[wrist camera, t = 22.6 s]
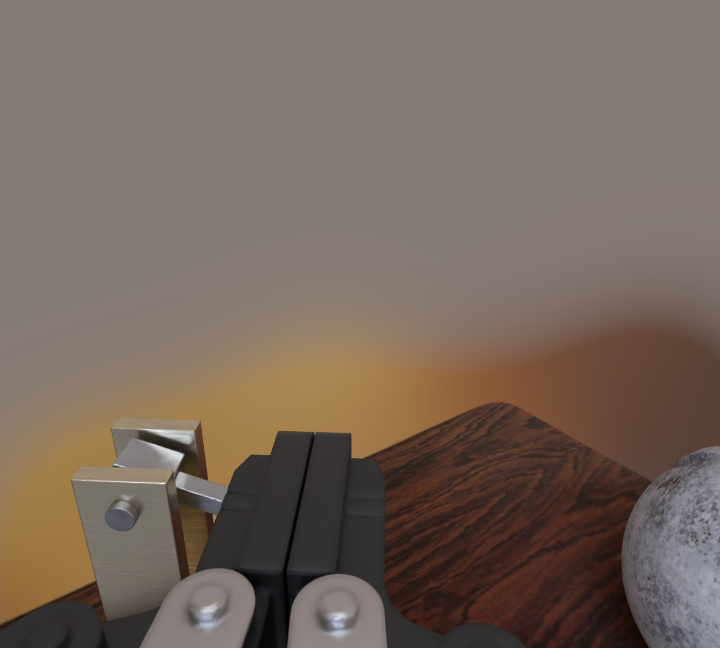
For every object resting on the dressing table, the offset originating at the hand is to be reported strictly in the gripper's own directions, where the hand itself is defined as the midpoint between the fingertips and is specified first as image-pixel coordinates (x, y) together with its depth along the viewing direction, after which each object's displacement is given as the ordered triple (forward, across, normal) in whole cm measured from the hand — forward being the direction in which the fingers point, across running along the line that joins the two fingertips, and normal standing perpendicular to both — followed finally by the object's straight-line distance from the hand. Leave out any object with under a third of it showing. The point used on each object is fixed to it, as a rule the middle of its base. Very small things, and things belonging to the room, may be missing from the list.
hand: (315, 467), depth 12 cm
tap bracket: (+12, +10, +25) cm, 30 cm away
